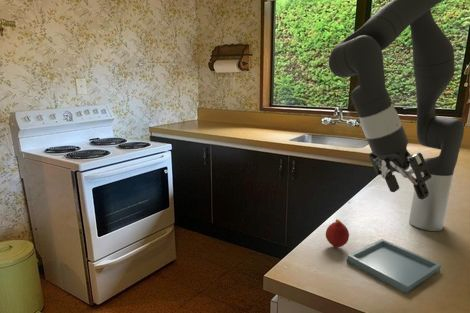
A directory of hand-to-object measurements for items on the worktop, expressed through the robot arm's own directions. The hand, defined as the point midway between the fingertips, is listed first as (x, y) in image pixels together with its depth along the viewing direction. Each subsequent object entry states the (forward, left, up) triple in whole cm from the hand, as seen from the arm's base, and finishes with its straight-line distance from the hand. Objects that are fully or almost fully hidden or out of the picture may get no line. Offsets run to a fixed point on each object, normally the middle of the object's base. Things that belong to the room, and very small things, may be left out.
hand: (408, 193), depth 76 cm
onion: (+4, -15, -19) cm, 25 cm away
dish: (0, -1, -19) cm, 19 cm away
